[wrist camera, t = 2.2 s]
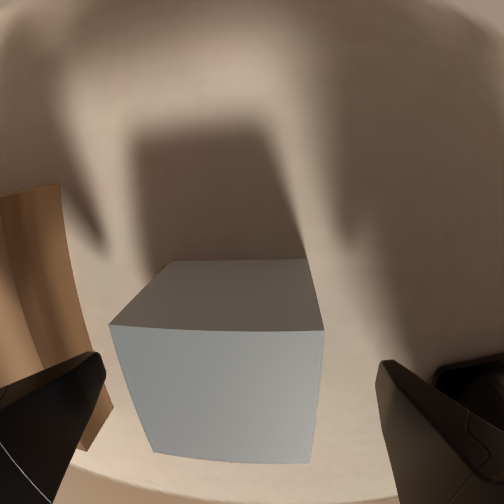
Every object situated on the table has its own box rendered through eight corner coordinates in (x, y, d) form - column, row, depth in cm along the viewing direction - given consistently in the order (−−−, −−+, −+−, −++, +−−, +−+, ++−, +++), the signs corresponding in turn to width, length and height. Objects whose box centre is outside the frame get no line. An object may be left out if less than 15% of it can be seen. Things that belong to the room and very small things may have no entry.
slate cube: (306, 257, 11) (324, 330, 6) (303, 369, 13) (309, 463, 8) (172, 260, 12) (108, 324, 7) (189, 367, 13) (153, 452, 8)
